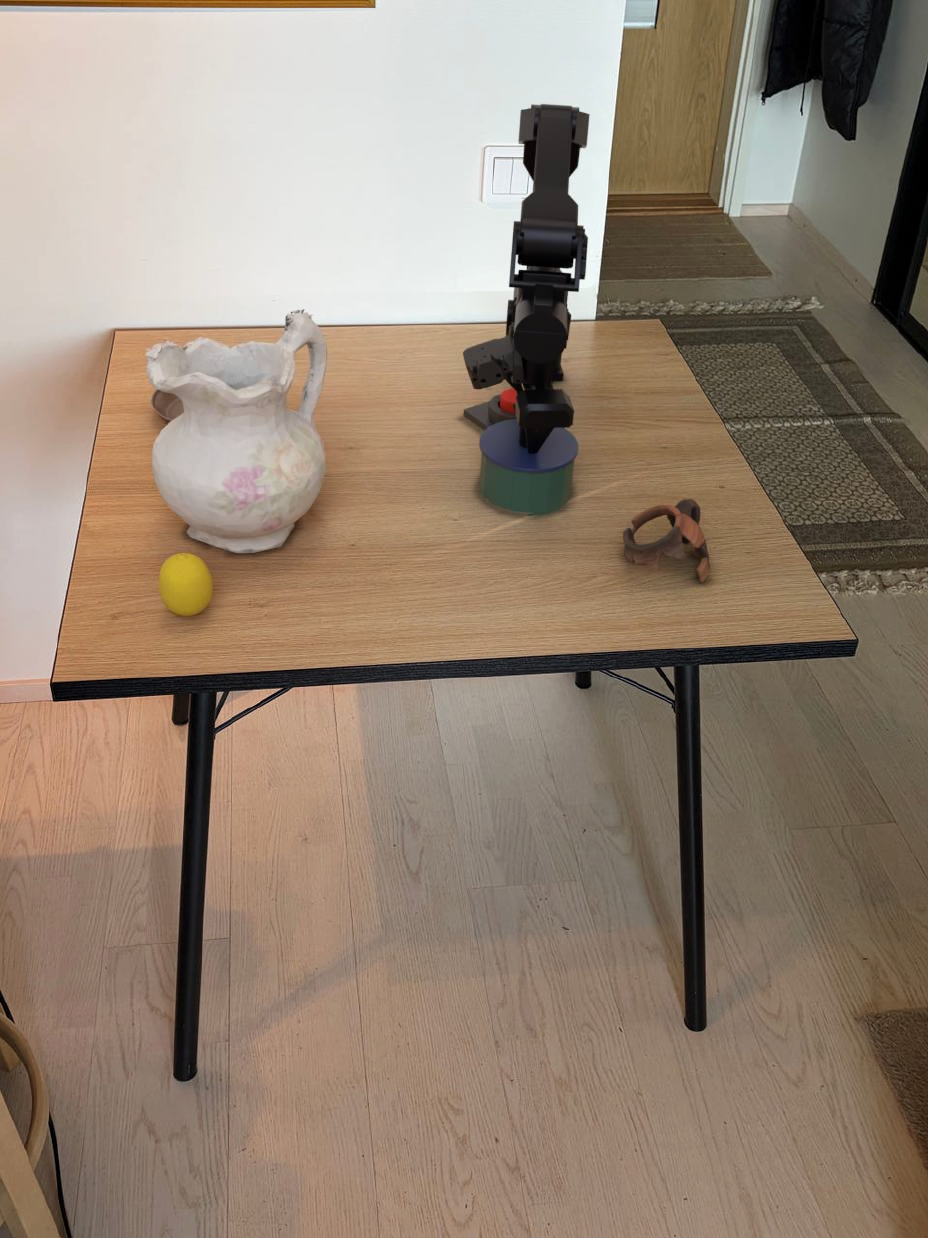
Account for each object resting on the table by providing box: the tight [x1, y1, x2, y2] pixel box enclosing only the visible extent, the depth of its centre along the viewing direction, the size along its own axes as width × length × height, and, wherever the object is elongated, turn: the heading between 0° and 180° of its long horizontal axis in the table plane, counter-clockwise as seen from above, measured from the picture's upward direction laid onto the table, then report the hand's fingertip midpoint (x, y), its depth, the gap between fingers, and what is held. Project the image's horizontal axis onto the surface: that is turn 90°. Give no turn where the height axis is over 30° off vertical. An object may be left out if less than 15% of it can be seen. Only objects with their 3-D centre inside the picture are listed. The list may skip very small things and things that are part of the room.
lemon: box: [158, 552, 214, 617], centre depth 123 cm, size 6×6×8 cm
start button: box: [500, 388, 517, 413], centre depth 157 cm, size 4×4×2 cm
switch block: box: [462, 393, 517, 431], centre depth 159 cm, size 9×11×4 cm
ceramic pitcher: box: [143, 309, 328, 554], centre depth 132 cm, size 22×20×25 cm
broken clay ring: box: [622, 498, 711, 583], centre depth 136 cm, size 12×10×8 cm
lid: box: [478, 419, 579, 473], centre depth 142 cm, size 12×12×5 cm
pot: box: [479, 453, 576, 517], centre depth 145 cm, size 11×11×6 cm
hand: (529, 442), depth 143 cm, fingers open, 5 cm apart
